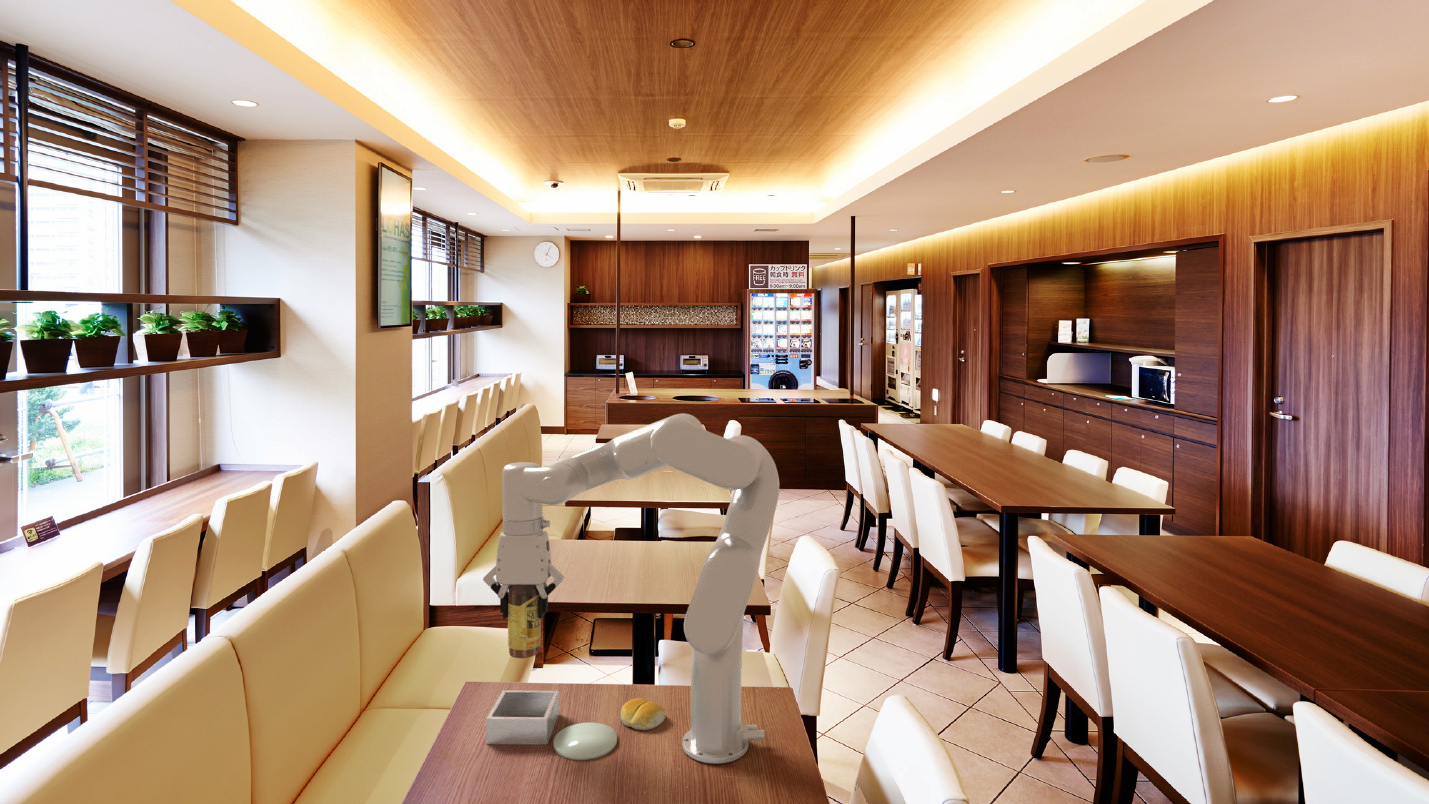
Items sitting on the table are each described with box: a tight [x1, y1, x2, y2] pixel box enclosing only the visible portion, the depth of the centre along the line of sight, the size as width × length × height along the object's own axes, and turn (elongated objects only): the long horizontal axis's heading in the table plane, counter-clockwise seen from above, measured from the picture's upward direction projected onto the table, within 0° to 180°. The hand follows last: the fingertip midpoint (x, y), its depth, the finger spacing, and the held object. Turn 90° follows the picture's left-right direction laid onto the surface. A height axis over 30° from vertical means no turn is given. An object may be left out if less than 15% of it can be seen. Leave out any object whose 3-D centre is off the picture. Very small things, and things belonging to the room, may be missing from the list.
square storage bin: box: [485, 689, 560, 745], centre depth 147 cm, size 12×12×5 cm
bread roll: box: [620, 697, 666, 731], centre depth 151 cm, size 8×9×4 cm
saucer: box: [553, 722, 618, 761], centre depth 142 cm, size 12×12×1 cm
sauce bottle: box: [507, 584, 542, 659], centre depth 145 cm, size 7×6×20 cm
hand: (524, 615), depth 145 cm, fingers closed on sauce bottle, 6 cm apart
